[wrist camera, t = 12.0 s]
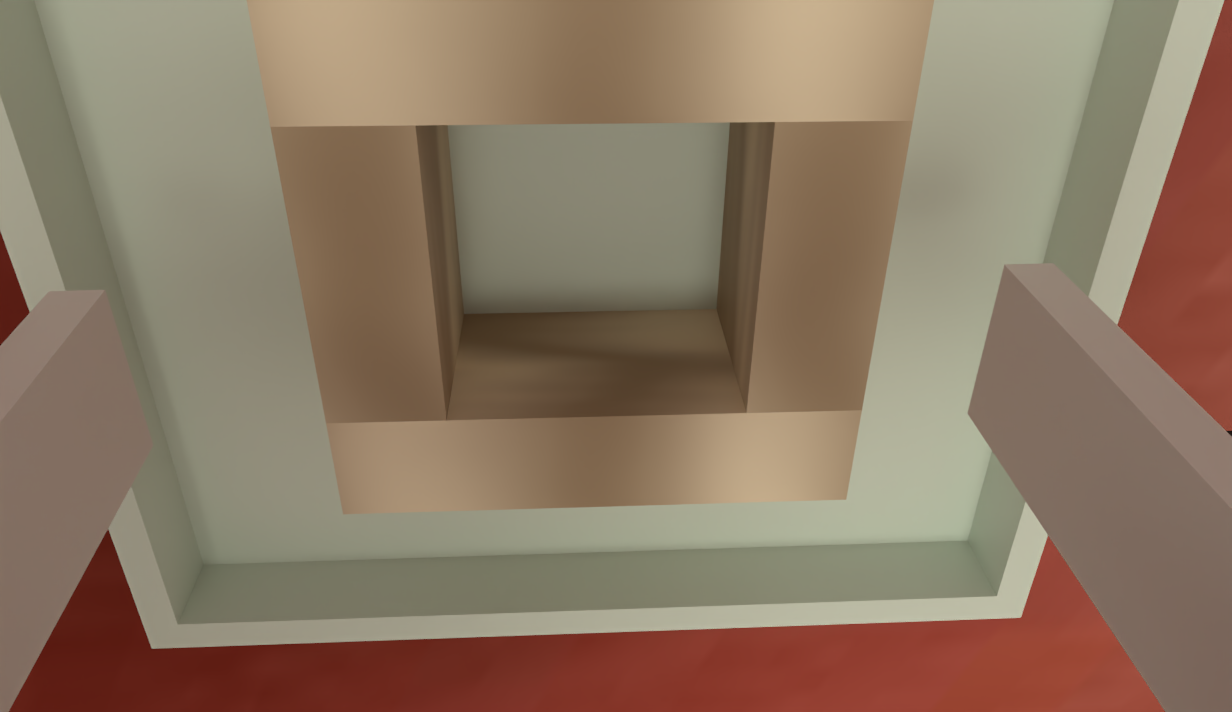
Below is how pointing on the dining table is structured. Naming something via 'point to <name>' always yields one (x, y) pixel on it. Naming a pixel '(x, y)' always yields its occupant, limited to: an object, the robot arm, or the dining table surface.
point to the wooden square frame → (597, 340)
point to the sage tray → (565, 282)
